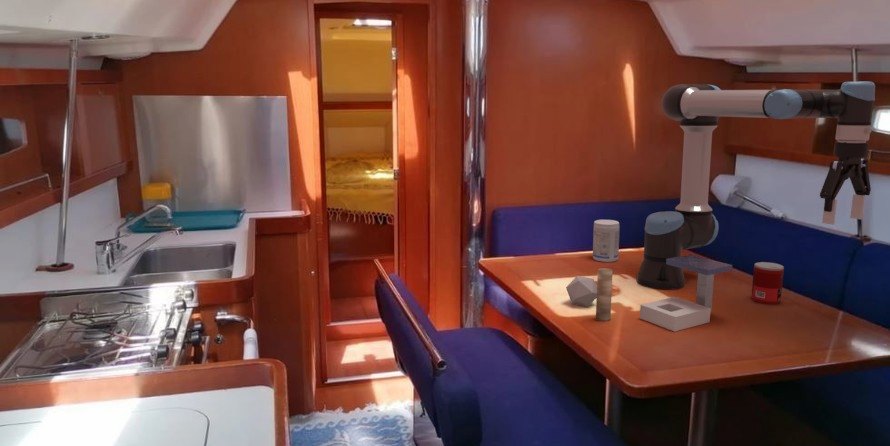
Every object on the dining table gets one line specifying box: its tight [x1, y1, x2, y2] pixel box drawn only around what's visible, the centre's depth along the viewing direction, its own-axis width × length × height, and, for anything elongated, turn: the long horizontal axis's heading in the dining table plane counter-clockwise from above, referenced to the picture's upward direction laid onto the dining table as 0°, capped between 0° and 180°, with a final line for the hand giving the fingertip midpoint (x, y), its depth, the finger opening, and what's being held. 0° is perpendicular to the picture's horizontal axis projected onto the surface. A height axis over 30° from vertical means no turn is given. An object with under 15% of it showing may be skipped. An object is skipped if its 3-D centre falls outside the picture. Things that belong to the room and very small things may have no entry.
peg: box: [595, 267, 614, 322], centre depth 176 cm, size 4×4×14 cm
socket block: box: [639, 296, 712, 332], centre depth 176 cm, size 12×14×4 cm
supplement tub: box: [592, 219, 620, 263], centre depth 241 cm, size 10×10×15 cm
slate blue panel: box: [666, 254, 733, 315], centre depth 179 cm, size 14×10×16 cm
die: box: [565, 275, 597, 307], centre depth 190 cm, size 8×9×10 cm
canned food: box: [751, 261, 785, 305], centre depth 192 cm, size 8×8×11 cm
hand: (842, 221), depth 171 cm, fingers open, 13 cm apart
